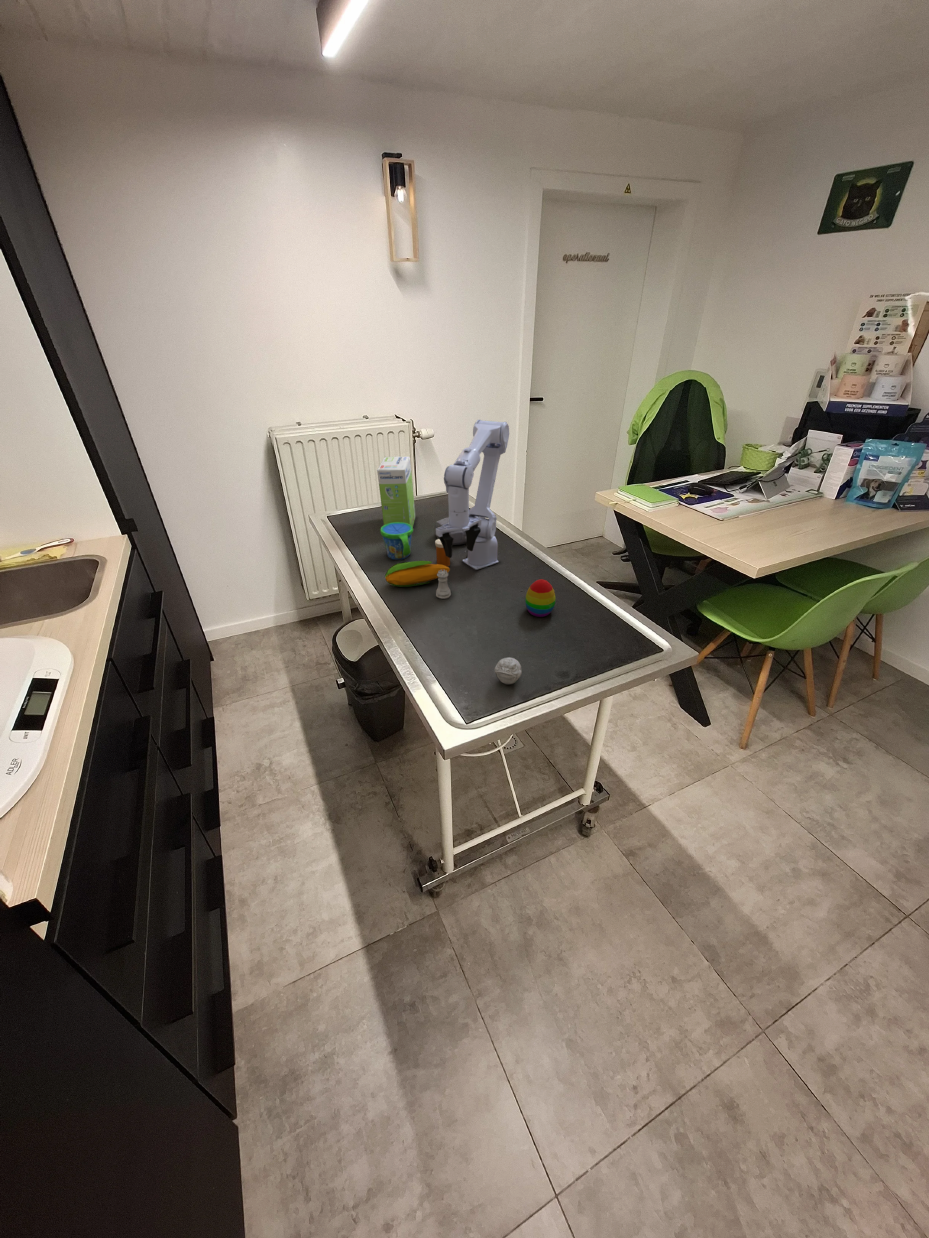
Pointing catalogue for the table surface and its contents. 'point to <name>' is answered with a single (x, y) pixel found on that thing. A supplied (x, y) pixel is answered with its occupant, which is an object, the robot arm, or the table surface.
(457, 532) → the soft grey pack
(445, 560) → the pill bottle
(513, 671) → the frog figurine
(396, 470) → the toothbrush box
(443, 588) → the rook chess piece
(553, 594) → the decorative egg
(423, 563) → the corn
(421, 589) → the table surface
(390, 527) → the snack cup
